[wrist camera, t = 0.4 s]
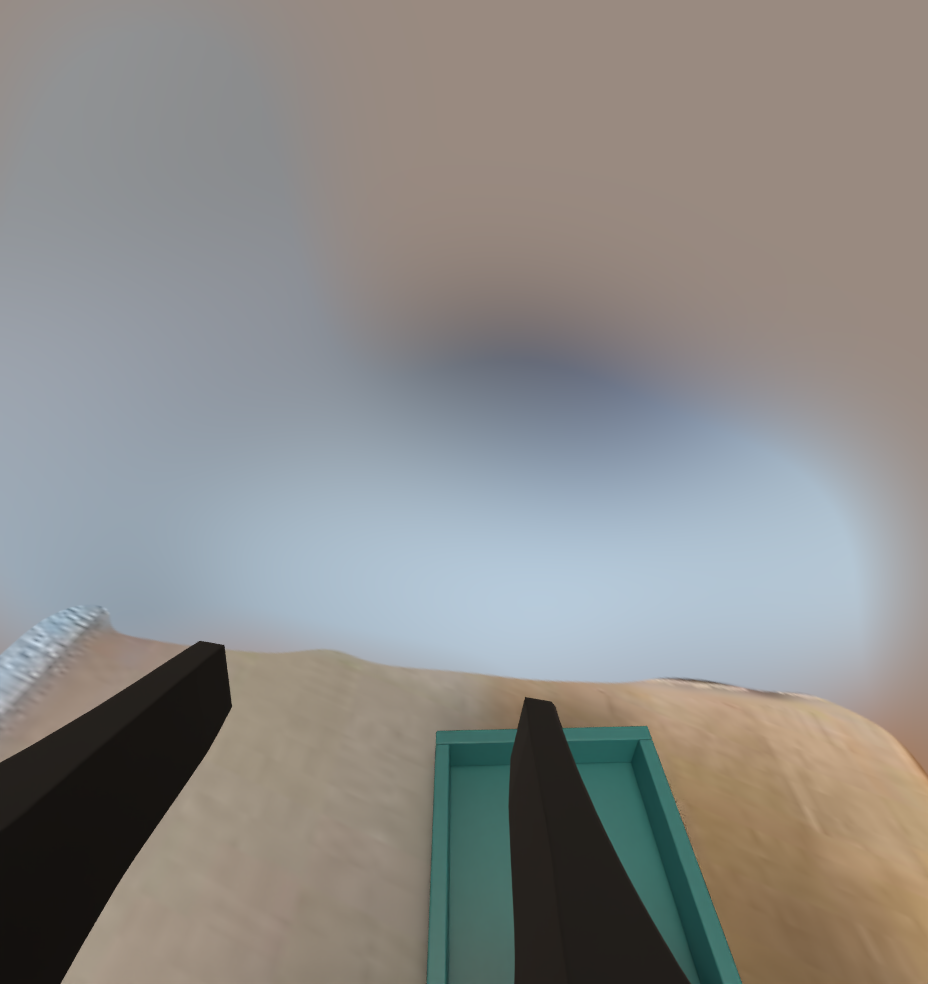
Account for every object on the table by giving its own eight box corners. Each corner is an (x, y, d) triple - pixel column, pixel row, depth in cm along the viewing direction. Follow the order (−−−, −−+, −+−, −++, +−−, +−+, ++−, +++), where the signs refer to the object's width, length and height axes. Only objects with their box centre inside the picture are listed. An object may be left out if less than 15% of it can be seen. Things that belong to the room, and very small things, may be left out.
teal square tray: (741, 1060, 18) (766, 1046, 16) (428, 1069, 18) (423, 1056, 16) (637, 752, 28) (647, 725, 27) (438, 756, 28) (436, 730, 27)
